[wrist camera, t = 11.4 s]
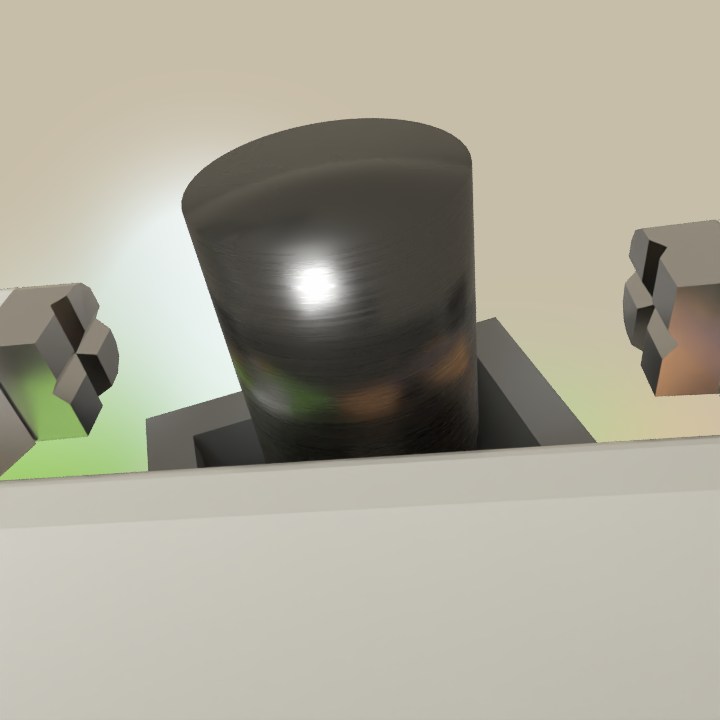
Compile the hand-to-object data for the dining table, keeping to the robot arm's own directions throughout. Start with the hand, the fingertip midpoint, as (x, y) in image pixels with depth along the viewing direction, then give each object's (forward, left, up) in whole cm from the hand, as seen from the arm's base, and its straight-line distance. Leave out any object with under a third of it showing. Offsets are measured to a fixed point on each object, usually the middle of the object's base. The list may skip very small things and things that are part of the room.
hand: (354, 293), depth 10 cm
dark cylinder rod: (0, -1, -15) cm, 15 cm away
